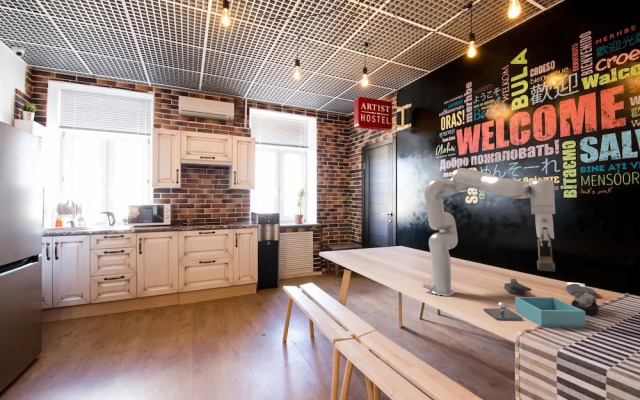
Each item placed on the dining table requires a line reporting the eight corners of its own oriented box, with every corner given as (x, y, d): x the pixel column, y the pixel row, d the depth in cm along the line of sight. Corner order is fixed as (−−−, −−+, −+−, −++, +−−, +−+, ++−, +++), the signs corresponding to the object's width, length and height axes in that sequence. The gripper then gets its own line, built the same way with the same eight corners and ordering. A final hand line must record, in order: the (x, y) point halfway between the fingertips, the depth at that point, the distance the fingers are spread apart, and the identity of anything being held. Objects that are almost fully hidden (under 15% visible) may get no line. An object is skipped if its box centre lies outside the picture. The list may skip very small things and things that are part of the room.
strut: (555, 271, 108) (553, 240, 108) (538, 270, 111) (536, 240, 111) (553, 269, 112) (551, 239, 112) (537, 267, 115) (535, 238, 115)
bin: (541, 326, 104) (541, 310, 104) (515, 311, 119) (515, 297, 119) (585, 327, 103) (585, 311, 103) (553, 311, 118) (553, 297, 118)
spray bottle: (569, 296, 138) (561, 284, 159) (600, 300, 132) (587, 287, 152) (569, 290, 138) (561, 279, 159) (599, 293, 132) (587, 282, 153)
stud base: (496, 320, 111) (496, 306, 111) (483, 310, 120) (483, 297, 121) (522, 320, 110) (522, 306, 110) (507, 310, 120) (507, 298, 120)
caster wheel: (584, 321, 114) (564, 308, 124) (613, 316, 113) (591, 304, 123) (581, 306, 113) (562, 295, 123) (611, 301, 112) (589, 290, 122)
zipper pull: (510, 286, 133) (503, 274, 155) (510, 300, 132) (503, 286, 155) (533, 289, 129) (522, 276, 151) (533, 303, 128) (522, 288, 151)
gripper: (557, 210, 103) (560, 259, 103) (552, 209, 117) (554, 253, 116) (532, 210, 107) (534, 258, 107) (530, 209, 121) (531, 251, 121)
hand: (544, 255), depth 112 cm, fingers closed on strut, 4 cm apart
